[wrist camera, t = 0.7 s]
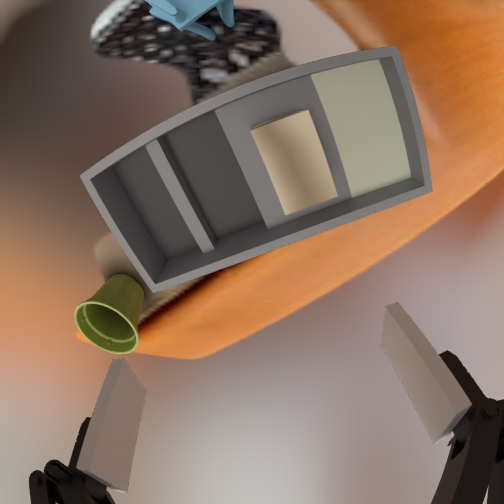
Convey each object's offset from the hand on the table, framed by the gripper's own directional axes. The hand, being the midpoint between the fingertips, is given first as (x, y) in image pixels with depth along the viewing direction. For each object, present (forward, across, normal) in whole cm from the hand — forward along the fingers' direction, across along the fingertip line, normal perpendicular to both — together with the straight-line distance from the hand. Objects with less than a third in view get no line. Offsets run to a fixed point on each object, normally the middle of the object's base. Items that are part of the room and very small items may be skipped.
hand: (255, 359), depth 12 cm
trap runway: (+21, +4, +6) cm, 22 cm away
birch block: (+18, +6, +6) cm, 21 cm away
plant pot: (+24, -19, -7) cm, 32 cm away
